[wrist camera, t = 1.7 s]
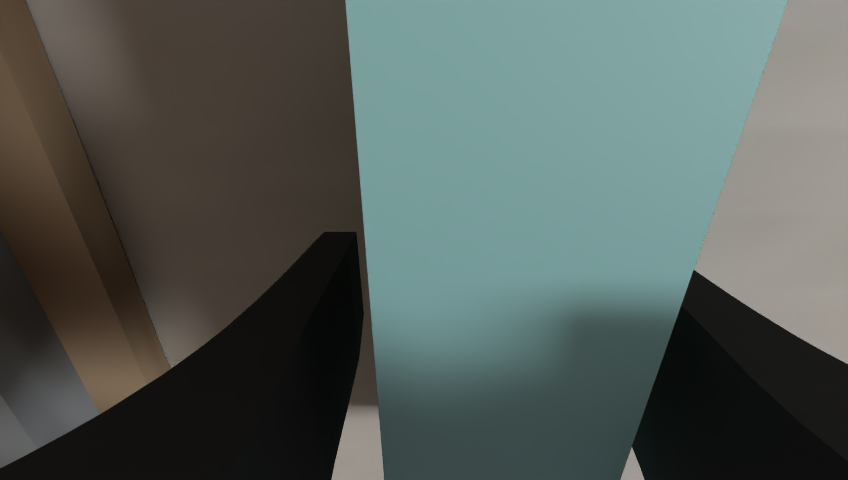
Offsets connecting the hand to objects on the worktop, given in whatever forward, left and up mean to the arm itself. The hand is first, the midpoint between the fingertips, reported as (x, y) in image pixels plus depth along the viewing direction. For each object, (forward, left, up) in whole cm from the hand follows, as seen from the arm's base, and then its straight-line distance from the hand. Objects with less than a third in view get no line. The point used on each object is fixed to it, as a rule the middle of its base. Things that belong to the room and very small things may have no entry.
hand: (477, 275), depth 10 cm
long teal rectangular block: (0, 0, -2) cm, 2 cm away
